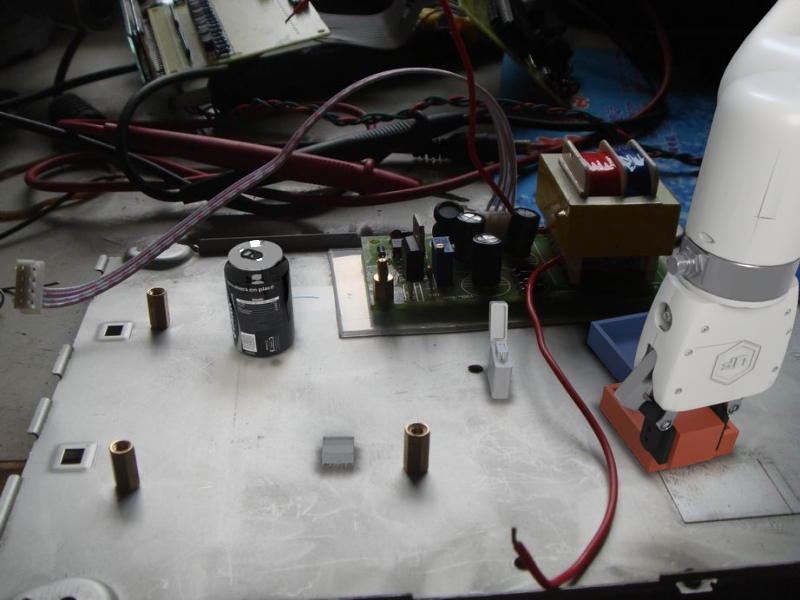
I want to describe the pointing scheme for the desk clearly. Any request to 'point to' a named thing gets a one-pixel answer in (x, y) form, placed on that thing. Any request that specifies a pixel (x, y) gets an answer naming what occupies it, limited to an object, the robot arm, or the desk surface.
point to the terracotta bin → (631, 425)
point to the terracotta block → (694, 437)
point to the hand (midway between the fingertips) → (677, 444)
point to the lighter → (499, 351)
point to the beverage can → (260, 299)
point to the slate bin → (617, 342)
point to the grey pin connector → (338, 450)
